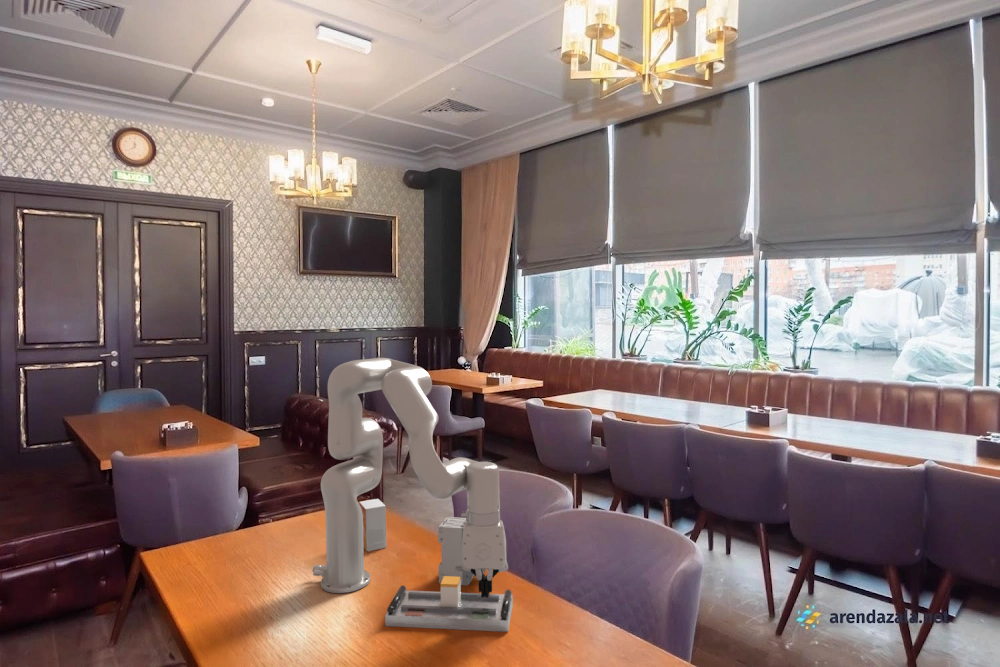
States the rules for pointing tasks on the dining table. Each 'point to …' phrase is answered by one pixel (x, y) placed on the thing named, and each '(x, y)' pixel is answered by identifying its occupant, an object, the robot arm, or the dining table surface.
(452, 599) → the toggle
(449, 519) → the circuit breaker
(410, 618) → the panel
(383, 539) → the small box
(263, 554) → the dining table surface
